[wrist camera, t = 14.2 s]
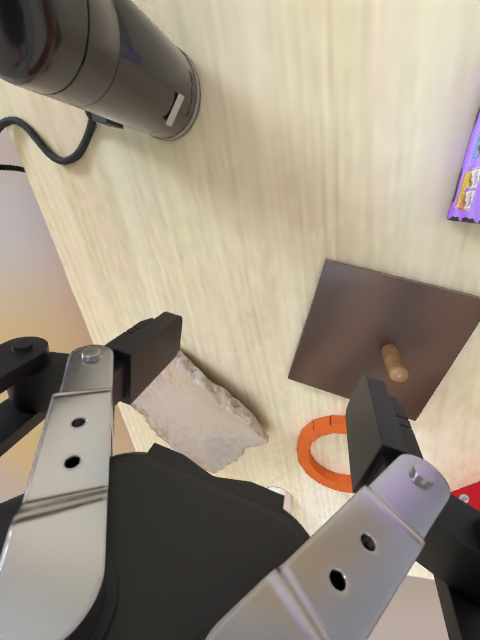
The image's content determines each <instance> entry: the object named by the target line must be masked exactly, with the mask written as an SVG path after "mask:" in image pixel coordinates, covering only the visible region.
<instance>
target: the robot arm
mask: <svg viewBox="0 0 480 640" xmlns="http://www.w3.org/2000/svg"><path fill="white" fill-rule="evenodd" d="M0 78H1V79H3V80H5V81H7V82H9V83H11V84H14V85H16V86H19V87H21V88H24V89H27V90H30V91H32V92H35V93H38V94H41V95H44V96H46V97H49V98H52V99H54V100H57V101H60V102H63V103H65V104H68V105H71V106H74V107H77V108H79V109H82V110H85V112H86V115H87V116H88V118H89V120H88V123H87V127H86V130H85V133H84V136H83V138H82V141H81V143H80V144H79V146H78V148H77V149H76V150H75V152H74V153H72V154H71V155H70V156H68V157H65V158H61V157H57V156H56V155H54V154H53V153H52V152H51V151H50V150H49V149H48V148H47V147H46V146H45V144H44V143H43V142H42V140H41V139H40V138H39V137H38V135H37V134H36V133H35V132H34V131H33V129H32V128H31V127H30V126H29V125H28V124H27V123H25V122H24V121H23V120H21V119H19V118H17V117H6V118H3V119H1V120H0V132H1V131H2V130H3V129H4V128H5V127H7V126H9V125H11V124H17V125H19V126H21V127H22V128H23V129H24V130H25V131H26V132H27V133H28V134H29V135H30V137H31V138H32V139H33V140H34V142H35V143H36V144H37V146H38V147H39V148H40V149H41V150H42V152H43V153H44V154H45V155H46V156H47V157H48V158H50V159H51V160H52V161H54V162H56V163H58V164H63V165H67V164H71V163H73V162H75V161H77V160H78V159H79V158H80V157H81V156H82V155H83V153H84V152H85V150H86V148H87V146H88V144H89V142H90V139H91V137H92V134H93V132H94V129H95V125H96V122H98V123H101V124H104V125H107V126H110V127H115V128H120V129H123V125H125V126H128V127H130V128H133V129H136V130H138V131H141V132H143V133H146V134H149V135H151V136H152V137H155V138H157V139H160V140H165V141H170V140H175V139H177V138H179V137H181V136H183V135H184V134H185V133H186V132H187V131H188V130H189V129H190V127H191V126H192V124H193V123H194V121H195V119H196V116H197V113H198V110H199V104H200V85H199V80H198V76H197V73H196V70H195V68H194V66H193V64H192V62H191V61H190V59H189V58H188V57H187V55H186V54H185V53H184V52H183V51H182V50H181V49H179V48H178V47H177V46H175V45H174V44H173V43H172V42H171V41H170V40H169V38H168V37H167V36H166V35H165V34H164V33H163V32H162V31H161V30H160V29H159V28H158V27H157V26H156V25H155V24H154V23H153V22H152V21H151V20H150V19H149V18H148V17H147V16H146V15H145V14H144V13H143V12H142V11H141V10H140V9H139V8H138V7H137V6H136V5H135V4H134V3H133V2H132V1H131V0H0ZM0 170H8V171H20V172H25V169H24V167H21V166H14V165H4V164H0ZM25 173H26V172H25ZM181 330H182V317H181V316H179V315H175V314H172V313H169V312H163V313H162V314H161V315H159V316H158V317H156V318H155V319H153V318H150V319H147V320H144V321H140V322H139V323H137V324H136V325H134V326H133V328H130V329H128V330H127V331H126V332H124V333H122V334H121V335H119V336H118V337H116V338H115V339H113V340H112V341H110V342H109V343H107V344H106V345H104V346H102V345H88V346H83V347H80V348H77V349H76V350H74V351H72V352H71V353H70V354H65V353H56V352H49V346H48V342H47V341H46V340H44V339H42V338H39V337H21V338H16V339H12V340H9V341H7V342H5V343H3V344H1V345H0V394H1V393H2V392H4V391H5V390H7V391H8V396H9V398H8V399H7V400H5V401H3V402H2V403H1V404H0V456H2V455H3V454H4V453H5V452H6V451H8V450H9V449H10V448H11V447H12V446H13V445H15V444H16V443H17V442H18V441H19V440H20V439H22V438H23V437H24V436H25V435H26V434H27V433H29V432H30V431H31V430H32V429H33V428H35V427H36V426H37V425H38V424H39V423H40V422H42V421H43V420H44V419H45V418H46V419H45V422H44V426H43V429H42V433H41V436H40V440H39V444H38V447H37V451H36V454H35V458H34V461H33V465H32V469H31V472H30V476H29V480H28V483H27V487H26V490H25V493H24V494H22V495H19V496H17V497H15V498H12V499H10V500H8V501H5V502H3V503H0V640H367V639H368V638H369V636H370V634H371V633H372V631H373V629H374V627H375V626H376V624H377V623H378V621H379V619H380V618H381V616H382V614H383V613H384V611H385V610H386V608H387V606H388V605H389V603H390V601H391V600H392V598H393V596H394V595H395V593H396V592H397V590H398V588H399V586H400V585H401V583H402V582H403V580H404V578H405V576H406V575H407V573H408V572H409V570H410V569H411V567H412V565H413V564H414V562H415V561H417V562H418V563H419V564H421V565H422V566H423V567H425V568H426V569H427V570H429V571H430V572H431V573H433V574H434V578H435V582H436V587H437V591H438V595H439V599H440V603H441V607H442V612H443V616H444V620H445V624H446V628H447V632H448V636H449V640H480V511H479V510H477V509H475V508H474V507H472V506H470V505H469V504H467V503H466V502H464V501H462V500H461V499H459V498H457V497H456V496H454V495H453V494H451V493H450V488H449V485H448V483H447V481H446V480H445V478H444V477H443V476H442V475H441V473H440V472H439V471H438V470H437V469H436V468H435V467H433V466H432V465H431V464H430V463H428V462H427V461H425V460H424V459H423V457H422V454H421V451H420V449H419V446H418V443H417V441H416V438H415V435H414V433H413V430H411V428H412V427H411V425H410V422H409V421H408V417H407V414H406V412H405V409H404V407H403V406H402V405H401V404H400V402H399V401H398V400H397V399H396V398H395V397H393V396H390V395H389V392H388V389H387V386H386V383H385V381H383V380H380V379H377V378H374V377H371V376H368V375H363V376H362V377H361V379H360V381H359V383H358V385H357V387H356V389H355V391H354V393H353V395H352V397H351V399H350V401H349V403H348V406H347V409H346V429H347V439H348V450H349V461H350V472H351V482H352V492H353V493H356V494H355V495H354V496H353V497H352V498H351V499H350V500H348V501H347V502H346V503H345V504H344V505H343V506H342V507H341V508H340V509H339V510H338V511H337V512H336V513H335V514H334V515H333V516H332V517H331V518H330V519H329V520H328V521H327V522H326V523H325V524H324V525H323V526H322V527H321V528H320V529H318V530H317V531H316V532H315V533H314V534H313V535H312V536H311V537H310V536H309V534H308V533H307V532H306V530H305V529H304V528H303V527H302V525H301V524H300V523H299V522H298V521H297V520H296V519H295V518H294V517H293V516H292V515H291V514H290V513H289V512H287V511H286V510H285V509H283V505H284V498H285V496H284V495H282V494H279V493H277V492H274V491H272V490H270V489H267V488H265V487H262V486H260V485H257V484H255V483H252V482H248V481H241V480H234V479H227V478H220V477H215V476H212V475H211V474H209V473H208V472H207V471H205V470H204V469H203V468H201V467H200V466H199V465H197V464H196V463H195V462H193V461H192V460H191V459H189V458H188V457H187V456H185V455H183V454H181V453H179V452H176V451H174V450H171V449H169V448H166V447H164V446H161V445H159V444H156V443H154V444H153V446H152V447H151V448H150V450H149V451H148V453H147V452H131V453H123V454H118V455H115V456H114V426H115V423H114V422H115V405H116V404H117V403H118V402H119V401H121V402H123V403H126V404H129V405H131V404H132V403H133V402H134V401H135V400H136V399H137V397H138V396H139V395H140V394H141V393H142V392H143V391H144V390H145V389H146V388H147V387H148V386H149V385H150V384H151V383H152V382H153V381H154V379H155V378H156V377H157V376H158V375H159V374H160V373H161V372H162V371H163V370H164V369H165V368H166V367H167V366H168V365H169V364H170V362H171V361H172V360H173V359H174V358H175V357H176V355H177V353H178V351H179V347H180V339H181Z"/></svg>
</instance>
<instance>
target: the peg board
mask: <svg viewBox="0 0 480 640" xmlns="http://www.w3.org/2000/svg"><path fill="white" fill-rule="evenodd" d="M479 322H480V297H479V296H475V295H471V294H467V293H462V292H458V291H454V290H450V289H446V288H442V287H438V286H434V285H430V284H426V283H422V282H417V281H413V280H409V279H405V278H401V277H397V276H393V275H389V274H385V273H381V272H377V271H372V270H368V269H364V268H360V267H356V266H352V265H348V264H344V263H340V262H336V261H332V260H328V259H326V262H325V265H324V268H323V271H322V274H321V277H320V280H319V283H318V287H317V290H316V293H315V296H314V299H313V302H312V305H311V308H310V311H309V314H308V317H307V320H306V323H305V326H304V329H303V332H302V335H301V338H300V342H299V345H298V348H297V351H296V354H295V357H294V360H293V363H292V366H291V369H290V372H289V375H288V379H291V380H294V381H297V382H300V383H303V384H306V385H309V386H312V387H315V388H318V389H321V390H324V391H327V392H330V393H333V394H336V395H339V396H342V397H345V398H348V399H351V397H352V395H353V393H354V391H355V389H356V387H357V385H358V383H359V381H360V379H361V377H362V376H363V375H368V376H371V377H374V378H377V379H380V380H383V381H385V383H386V386H387V389H388V392H389V395H390V396H393V397H395V398H396V399H397V400H398V401H399V402H400V404H401V405H402V406H403V407H404V409H405V412H406V414H407V417H408V419H411V420H414V421H416V419H417V418H418V416H419V415H420V413H421V412H422V410H423V408H424V407H425V405H426V404H427V402H428V401H429V399H430V398H431V396H432V395H433V393H434V391H435V390H436V388H437V387H438V385H439V384H440V382H441V381H442V379H443V378H444V376H445V374H446V373H447V371H448V370H449V368H450V367H451V365H452V364H453V362H454V361H455V359H456V357H457V356H458V354H459V353H460V351H461V350H462V348H463V347H464V345H465V344H466V342H467V340H468V339H469V337H470V336H471V334H472V333H473V331H474V330H475V328H476V327H477V325H478V323H479Z"/></svg>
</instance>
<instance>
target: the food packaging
mask: <svg viewBox="0 0 480 640" xmlns="http://www.w3.org/2000/svg"><path fill="white" fill-rule="evenodd" d="M450 493H451V494H453V495H454V496H456V497H457V498H459V499H461V500H462V501H464V502H466V503H467V504H469V505H470V506H472V507H474V508H475V509H477V510H479V511H480V482H478V483H475V484H472V485H469V486H467V487H464V488H461V489H458V490H456V491H453V492H450Z"/></svg>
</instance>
